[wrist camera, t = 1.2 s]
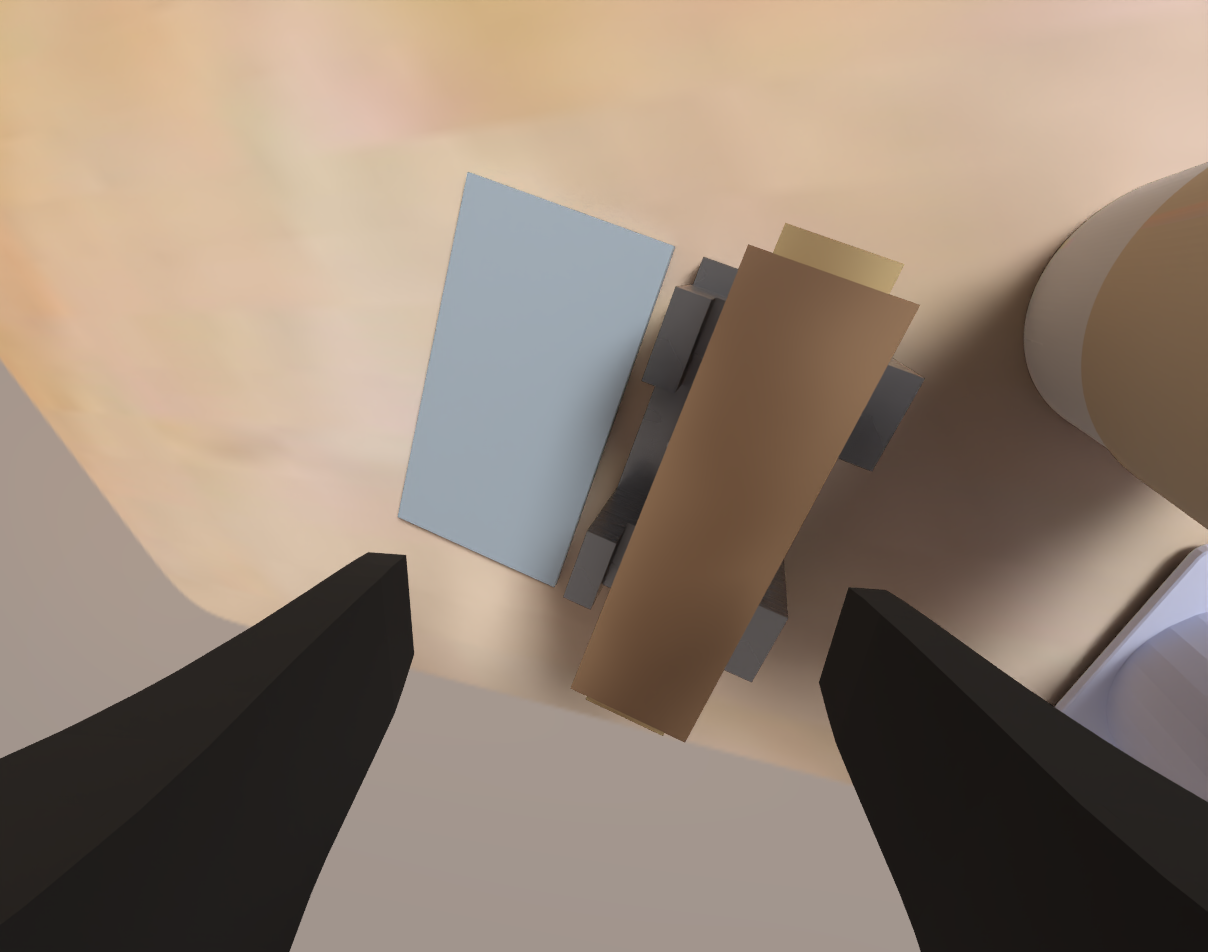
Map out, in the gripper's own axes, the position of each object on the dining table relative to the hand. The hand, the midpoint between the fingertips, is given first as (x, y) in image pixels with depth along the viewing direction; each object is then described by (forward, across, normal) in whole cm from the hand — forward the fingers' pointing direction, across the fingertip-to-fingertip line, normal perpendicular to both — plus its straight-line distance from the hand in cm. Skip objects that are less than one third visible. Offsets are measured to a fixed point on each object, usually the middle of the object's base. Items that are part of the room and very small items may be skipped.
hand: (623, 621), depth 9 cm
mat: (+12, +4, 0) cm, 13 cm away
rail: (+7, -3, +1) cm, 8 cm away
